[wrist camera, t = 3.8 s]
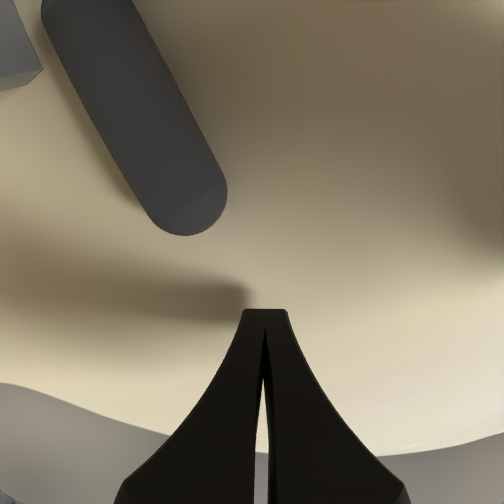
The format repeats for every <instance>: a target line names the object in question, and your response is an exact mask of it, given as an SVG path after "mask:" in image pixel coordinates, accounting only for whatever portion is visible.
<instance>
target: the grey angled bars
mask: <svg viewBox="0 0 504 504" xmlns="http://www.w3.org/2000/svg"><path fill="white" fill-rule="evenodd" d="M41 70H43V69H42V67H41V64H40V62H39V60H38V58H37V56H36V54H35V52H34V50H33V47H32V45H31V43H30V41H29V38H28V36H27V34H26V32H25V29H24V27H23V25H22V22H21V20H20V18H19V15H18V13H17V10H16V8H15V5H14V3H13V0H0V92H1V91H4V90H8V89H11V88H15V87H19V86H23V85H27V84H28V83H29V82H30V81H31V80H32V79H33V78H34V77H35V76H36V75H37V74H38V73H39V72H40V71H41Z"/></svg>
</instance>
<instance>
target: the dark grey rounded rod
mask: <svg viewBox="0 0 504 504" xmlns="http://www.w3.org/2000/svg"><path fill="white" fill-rule="evenodd" d="M41 19H42V22H43V25H44V27H45V29H46V32H47V34H48V36H49V38H50V40H51V42H52V44H53V46H54V48H55V50H56V53H57V55H58V57H59V59H60V61H61V63H62V65H63V67H64V69H65V71H66V73H67V75H68V77H69V78H70V80H71V82H72V84H73V86H74V88H75V90H76V92H77V94H78V96H79V98H80V100H81V101H82V103H83V105H84V107H85V109H86V111H87V113H88V114H89V116H90V118H91V120H92V122H93V123H94V125H95V127H96V129H97V131H98V132H99V134H100V136H101V138H102V139H103V141H104V143H105V145H106V146H107V148H108V150H109V152H110V153H111V155H112V157H113V159H114V160H115V162H116V164H117V165H118V167H119V169H120V170H121V172H122V174H123V176H124V177H125V179H126V181H127V182H128V184H129V185H130V187H131V189H132V190H133V192H134V194H135V195H136V197H137V199H138V200H139V202H140V203H141V205H142V207H143V208H144V210H145V211H146V213H147V215H148V216H149V218H150V219H151V220H152V221H153V223H154V224H155V225H157V226H158V227H159V228H160V229H162V230H164V231H166V232H168V233H170V234H174V235H179V236H189V235H194V234H198V233H201V232H203V231H205V230H206V229H208V228H209V227H211V226H212V225H213V224H214V223H215V222H216V221H217V220H218V219H219V217H220V216H221V214H222V212H223V210H224V208H225V204H226V200H227V185H226V180H225V178H224V175H223V173H222V171H221V169H220V167H219V165H218V163H217V161H216V159H215V157H214V155H213V153H212V151H211V150H210V148H209V146H208V144H207V142H206V140H205V138H204V136H203V134H202V132H201V130H200V128H199V127H198V125H197V123H196V121H195V119H194V117H193V115H192V113H191V111H190V109H189V107H188V106H187V104H186V102H185V100H184V98H183V96H182V94H181V92H180V90H179V88H178V86H177V85H176V83H175V81H174V79H173V77H172V75H171V73H170V71H169V69H168V68H167V66H166V64H165V62H164V60H163V58H162V56H161V54H160V52H159V51H158V49H157V47H156V45H155V43H154V41H153V39H152V37H151V36H150V34H149V32H148V30H147V28H146V26H145V24H144V23H143V21H142V19H141V17H140V15H139V13H138V11H137V9H136V8H135V6H134V4H133V2H132V0H43V1H42V5H41Z"/></svg>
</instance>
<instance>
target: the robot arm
mask: <svg viewBox="0 0 504 504" xmlns="http://www.w3.org/2000/svg"><path fill="white" fill-rule="evenodd" d="M263 380H264V392H265V403H266V414H267V425H268V440H269V460H268V503H267V504H411V502H410V499H409V496H408V493H407V490H406V488H405V485H404V483H403V482H402V481H400V480H399V479H398V478H397V477H396V476H395V475H393V473H392V472H390V471H389V470H388V469H387V468H386V467H385V466H384V465H383V464H382V463H381V462H380V461H379V460H378V459H377V458H376V457H375V456H374V455H373V454H372V453H371V452H370V451H369V450H368V449H367V448H366V447H365V445H364V444H363V443H362V442H361V441H360V440H359V438H358V437H357V436H356V435H355V434H354V433H353V431H352V430H351V429H350V428H349V427H348V425H347V424H346V423H345V422H344V420H343V419H342V418H341V416H340V415H339V413H338V412H337V411H336V409H335V408H334V406H333V405H332V404H331V402H330V401H329V399H328V398H327V396H326V394H325V393H324V391H323V390H322V388H321V386H320V385H319V383H318V381H317V380H316V378H315V376H314V374H313V373H312V371H311V369H310V367H309V365H308V363H307V361H306V359H305V357H304V355H303V353H302V351H301V349H300V346H299V344H298V342H297V339H296V337H295V335H294V332H293V329H292V327H291V324H290V320H289V317H288V313H287V311H286V310H285V309H245V310H243V311H242V315H241V319H240V322H239V326H238V328H237V331H236V334H235V336H234V338H233V341H232V343H231V345H230V347H229V349H228V352H227V354H226V356H225V358H224V360H223V362H222V364H221V365H220V367H219V369H218V371H217V372H216V374H215V376H214V378H213V379H212V381H211V383H210V384H209V386H208V388H207V389H206V391H205V392H204V394H203V395H202V397H201V398H200V400H199V401H198V403H197V404H196V405H195V407H194V408H193V409H192V411H191V412H190V413H189V415H188V416H187V417H186V418H185V420H184V421H183V422H182V424H181V425H180V426H179V427H178V428H177V430H176V431H175V432H174V433H173V434H172V435H171V436H170V437H169V439H167V441H166V442H165V443H164V444H163V445H162V446H161V447H160V448H159V449H158V450H157V451H156V452H155V453H154V454H153V455H152V456H151V457H150V458H149V459H148V460H147V461H146V462H145V463H143V464H142V465H141V466H140V467H139V468H138V469H137V470H136V471H134V472H133V473H132V474H131V475H130V476H129V477H127V478H126V479H125V480H124V481H123V483H122V485H121V487H120V489H119V491H118V493H117V496H116V498H115V501H114V504H254V476H255V445H256V433H257V425H258V417H259V409H260V401H261V392H262V384H263ZM0 504H26V503H24V502H22V501H20V500H18V499H16V498H14V497H13V496H11V495H10V494H8V493H6V492H5V491H3V490H1V489H0ZM502 504H504V503H502Z"/></svg>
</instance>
